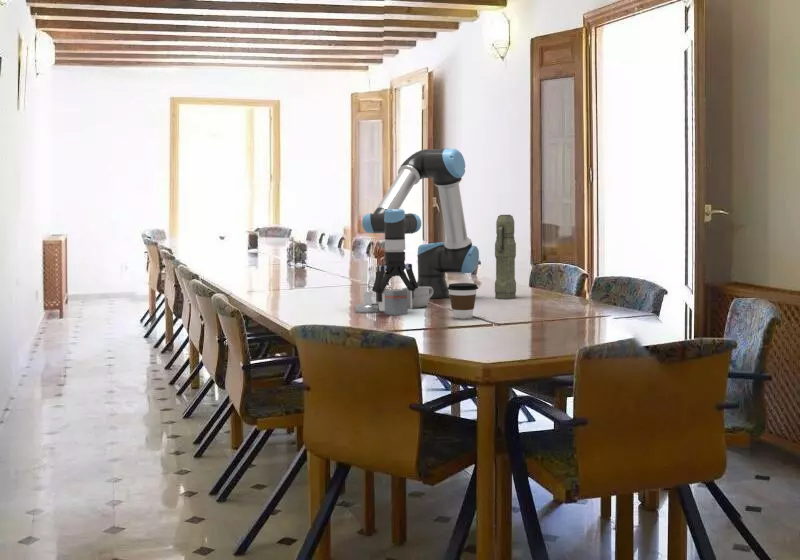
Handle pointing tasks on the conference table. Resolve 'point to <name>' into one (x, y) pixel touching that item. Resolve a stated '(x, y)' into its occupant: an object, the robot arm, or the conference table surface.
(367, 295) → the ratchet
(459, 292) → the coffee cup
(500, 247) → the thermos
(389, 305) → the red-striped grey block
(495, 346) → the conference table surface
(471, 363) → the conference table surface
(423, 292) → the teacup
